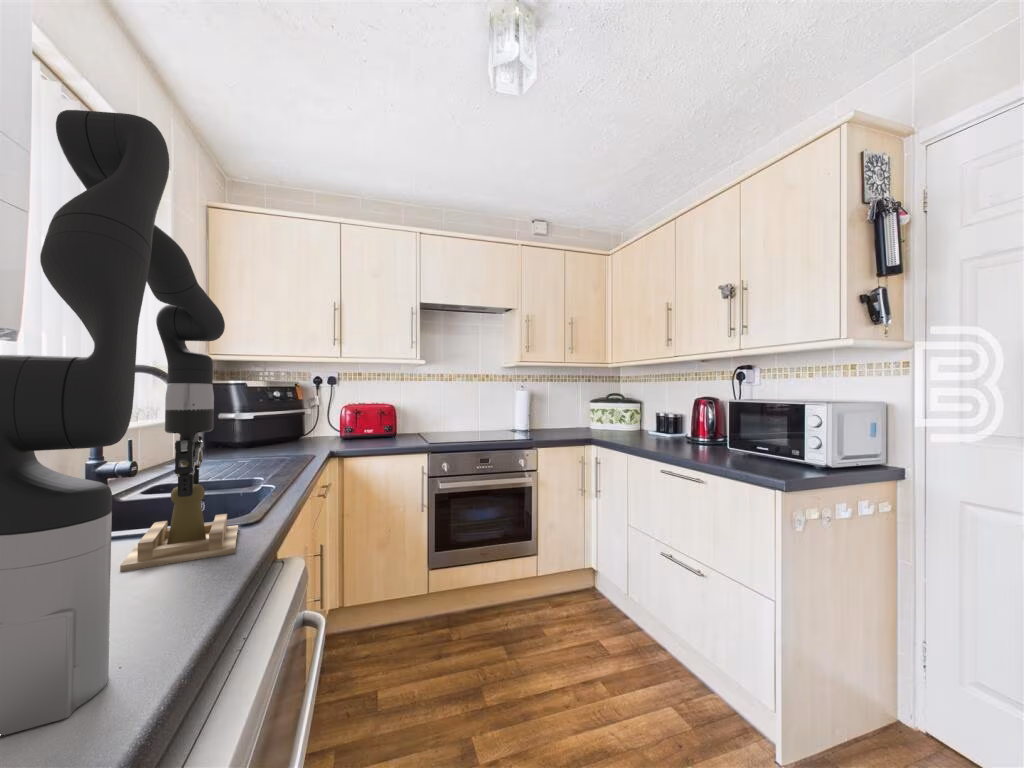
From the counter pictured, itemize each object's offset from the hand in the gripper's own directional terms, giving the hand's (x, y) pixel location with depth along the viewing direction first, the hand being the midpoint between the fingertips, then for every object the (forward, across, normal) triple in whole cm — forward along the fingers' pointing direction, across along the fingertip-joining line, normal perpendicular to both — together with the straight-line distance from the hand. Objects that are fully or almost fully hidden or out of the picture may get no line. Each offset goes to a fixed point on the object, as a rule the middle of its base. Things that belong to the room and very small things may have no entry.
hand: (188, 491), depth 83 cm
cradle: (+11, 0, 0) cm, 11 cm away
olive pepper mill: (+10, 0, 0) cm, 10 cm away
